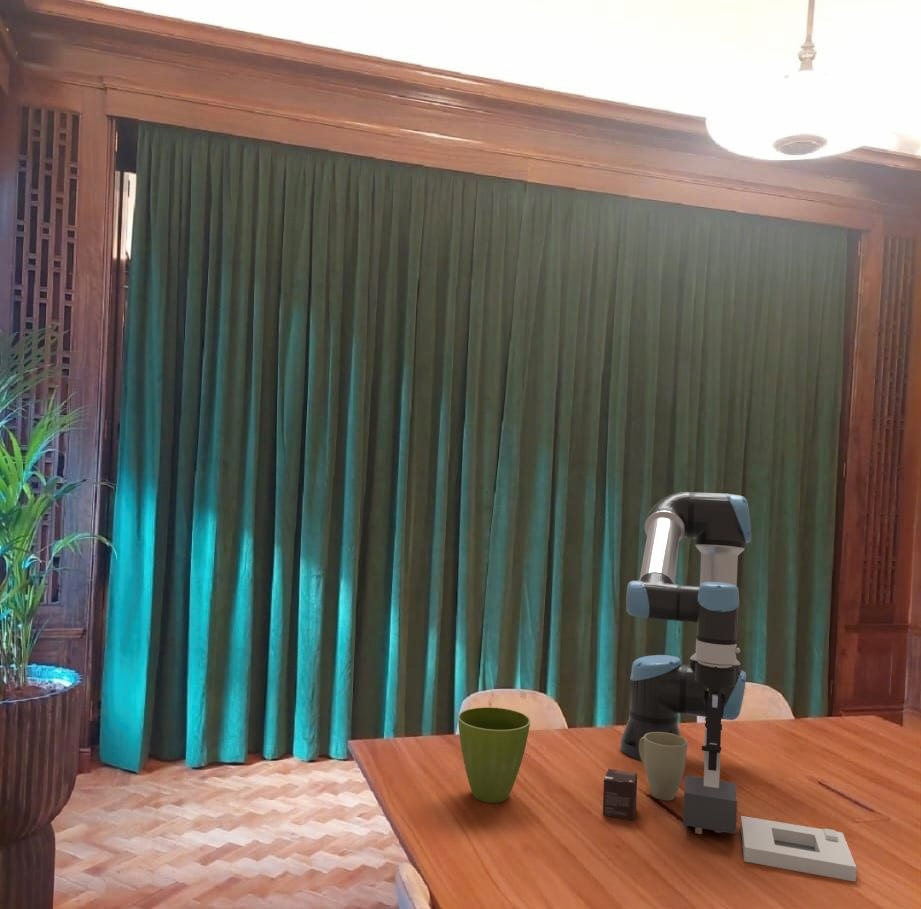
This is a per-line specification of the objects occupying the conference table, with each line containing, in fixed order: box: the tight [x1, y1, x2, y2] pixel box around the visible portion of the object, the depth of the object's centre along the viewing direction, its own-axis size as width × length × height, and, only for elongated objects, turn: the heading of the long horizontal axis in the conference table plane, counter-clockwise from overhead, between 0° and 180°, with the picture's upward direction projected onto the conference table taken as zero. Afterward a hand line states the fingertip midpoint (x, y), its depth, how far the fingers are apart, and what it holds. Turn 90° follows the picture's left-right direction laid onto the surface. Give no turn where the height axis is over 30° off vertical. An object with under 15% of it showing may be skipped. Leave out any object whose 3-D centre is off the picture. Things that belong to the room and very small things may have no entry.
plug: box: [682, 774, 738, 835], centre depth 153 cm, size 10×10×8 cm
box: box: [602, 768, 638, 821], centre depth 159 cm, size 6×6×7 cm
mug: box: [639, 732, 688, 801], centre depth 170 cm, size 11×10×12 cm
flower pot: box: [457, 706, 531, 804], centre depth 164 cm, size 15×15×16 cm
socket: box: [740, 815, 857, 882], centre depth 145 cm, size 18×14×3 cm
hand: (710, 774), depth 153 cm, fingers open, 13 cm apart
